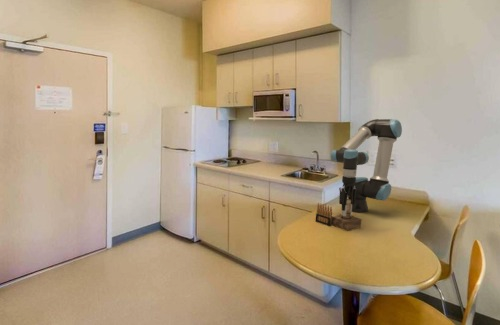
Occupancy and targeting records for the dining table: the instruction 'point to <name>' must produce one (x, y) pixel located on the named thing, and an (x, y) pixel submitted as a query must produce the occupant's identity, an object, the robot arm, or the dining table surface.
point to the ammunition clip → (324, 215)
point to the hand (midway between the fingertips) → (346, 214)
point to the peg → (348, 209)
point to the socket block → (346, 222)
